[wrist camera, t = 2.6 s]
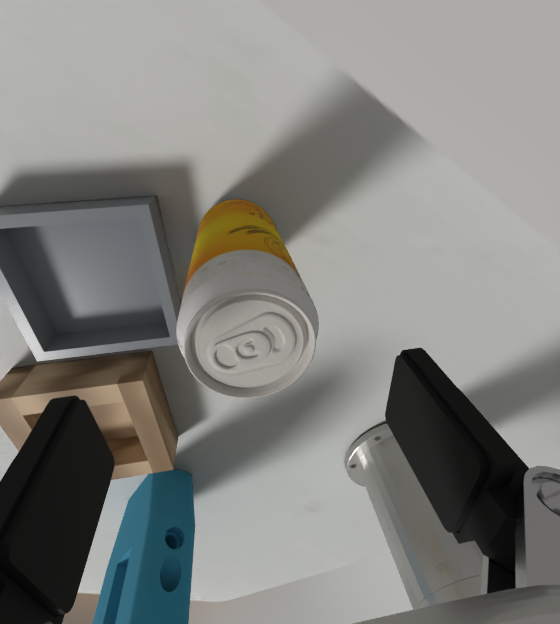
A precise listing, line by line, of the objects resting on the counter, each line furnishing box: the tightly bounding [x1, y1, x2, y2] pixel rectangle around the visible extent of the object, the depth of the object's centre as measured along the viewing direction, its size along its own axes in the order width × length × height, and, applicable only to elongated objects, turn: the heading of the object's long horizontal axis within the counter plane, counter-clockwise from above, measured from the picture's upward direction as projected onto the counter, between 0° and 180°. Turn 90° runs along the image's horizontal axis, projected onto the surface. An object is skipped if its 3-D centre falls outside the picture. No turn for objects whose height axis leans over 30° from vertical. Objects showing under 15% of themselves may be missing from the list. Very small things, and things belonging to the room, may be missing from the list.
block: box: [93, 469, 195, 624], centre depth 32 cm, size 12×5×20 cm, turn 144°
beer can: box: [176, 199, 319, 398], centre depth 19 cm, size 6×6×15 cm
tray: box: [0, 195, 181, 361], centre depth 24 cm, size 11×11×3 cm
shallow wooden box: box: [0, 351, 178, 480], centre depth 31 cm, size 12×12×4 cm
